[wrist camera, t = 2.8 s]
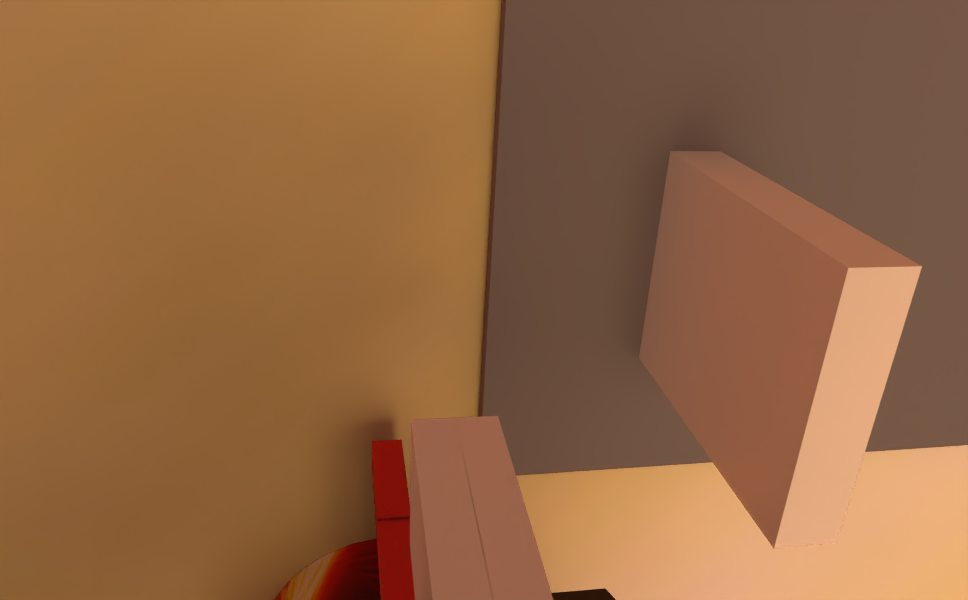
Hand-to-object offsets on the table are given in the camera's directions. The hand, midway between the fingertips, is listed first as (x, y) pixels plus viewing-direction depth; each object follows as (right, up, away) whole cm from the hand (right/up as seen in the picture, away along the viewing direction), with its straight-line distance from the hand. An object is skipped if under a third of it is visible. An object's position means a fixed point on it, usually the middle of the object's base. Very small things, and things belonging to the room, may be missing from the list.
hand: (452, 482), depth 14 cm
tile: (+7, +5, +11) cm, 14 cm away
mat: (+11, +5, +12) cm, 17 cm away
